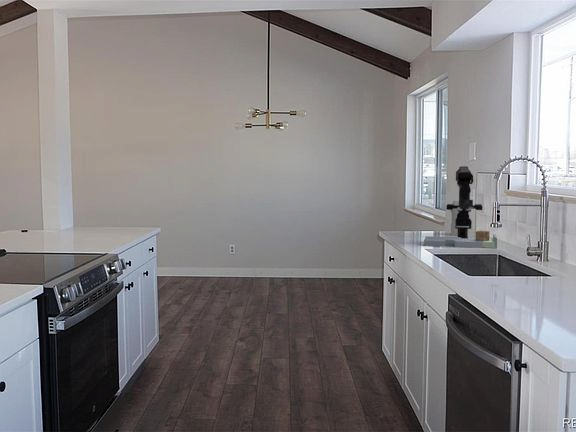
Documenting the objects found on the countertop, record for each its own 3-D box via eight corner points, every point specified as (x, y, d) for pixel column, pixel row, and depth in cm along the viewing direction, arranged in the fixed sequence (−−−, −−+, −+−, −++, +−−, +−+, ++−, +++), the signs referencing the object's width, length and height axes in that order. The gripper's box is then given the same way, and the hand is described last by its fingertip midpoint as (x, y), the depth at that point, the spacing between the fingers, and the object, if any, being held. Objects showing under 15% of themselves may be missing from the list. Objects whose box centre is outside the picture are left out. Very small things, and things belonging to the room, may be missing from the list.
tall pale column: (450, 235, 335) (450, 200, 333) (450, 234, 339) (450, 199, 337) (468, 236, 333) (468, 200, 331) (467, 235, 337) (468, 199, 335)
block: (481, 239, 293) (481, 230, 292) (489, 240, 289) (489, 231, 288) (475, 240, 290) (475, 231, 289) (483, 241, 286) (483, 232, 285)
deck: (425, 241, 310) (425, 232, 310) (494, 243, 299) (495, 233, 298) (423, 245, 293) (423, 236, 292) (496, 248, 282) (497, 237, 281)
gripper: (446, 195, 293) (446, 224, 295) (483, 195, 288) (482, 224, 290) (446, 193, 304) (446, 221, 306) (482, 194, 298) (481, 222, 300)
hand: (463, 222), depth 300 cm, fingers closed
